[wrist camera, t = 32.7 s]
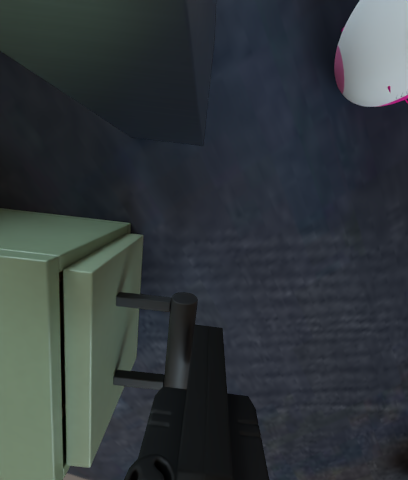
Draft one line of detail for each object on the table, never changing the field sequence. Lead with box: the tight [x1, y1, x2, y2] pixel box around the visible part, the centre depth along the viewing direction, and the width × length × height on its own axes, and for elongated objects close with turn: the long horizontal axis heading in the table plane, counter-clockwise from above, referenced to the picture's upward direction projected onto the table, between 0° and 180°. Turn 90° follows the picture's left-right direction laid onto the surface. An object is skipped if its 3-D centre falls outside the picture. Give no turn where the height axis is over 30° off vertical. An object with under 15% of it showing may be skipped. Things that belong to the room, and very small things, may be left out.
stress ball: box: [334, 0, 408, 107], centre depth 13 cm, size 8×8×7 cm
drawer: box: [59, 233, 198, 467], centre depth 14 cm, size 17×10×8 cm, turn 84°
